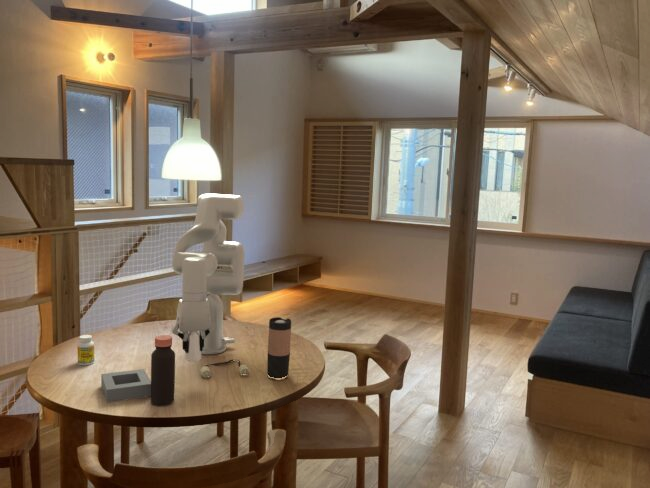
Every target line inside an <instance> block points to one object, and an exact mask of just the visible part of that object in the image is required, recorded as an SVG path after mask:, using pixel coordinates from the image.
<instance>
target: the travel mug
mask: <svg viewBox="0 0 650 488" xmlns="http://www.w3.org/2000/svg"><path fill="white" fill-rule="evenodd" d="M268 322H269V323H268V339H267V340H268V341H267V361H266V362H267V367H266V368H267V372H266V375H267V374H268V375H269V376H270V377H274V378H282V377H285V376H287V375H288V376H289V371H290V370H289V367H290V356H291V339H292V338H291V337H292V335H291V334H292V333H291V332H292V320H291V319H290V318H286V319H284V318H282V317H277V316H276V317H271V318H270V319H269V321H268Z"/></svg>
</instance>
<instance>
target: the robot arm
mask: <svg viewBox="0 0 650 488" xmlns="http://www.w3.org/2000/svg"><path fill="white" fill-rule="evenodd" d="M196 202H197V210H196V214H195V219H194V223H193V227H192V228H190V229H189V230H187V231H186V232H184V233H183V234H182V235H181V236H180V238H179V239H178V240H177V242H176V244H175V248H174V251H173V255H172V260H171V261H172V262H171V265H172V266H171V267H172V269H173V271H174V272H175V273H176V274H179V275H181V276H182V277H181V278H182V279H181V280H182V281H181V285H182V286H181V298H180V299H179V301H178V304H177V311H176V320H175V321H176V322H175V324H174V326H173V328H172V329H171V334H174V335H175V336H177V337H179V338H180V339H181V340H182V342H181V343H182V350H183V351H184V353H185V352H186V353H188V352H189V341H188V339H187V337H188V333H189V332H192V331H198V333H199V335H200V351H201V355H217V354H222V353H223V352H225V351H226V350H227V346H226V345H227V344H229V345H230V344H235V338H233V337H232V338H230V337H224V336H223V328H224V326H223V325H224V303H223V301H222V299H221V298H220V296H219V295H229V296H235V295H239V294H241V293H242V290H243V287H244V276H245V275H244V274H245V273H244V271H245V254H246V253H245V247H244V245H243V244H242V243H241V242H239V241H227V232H228V230H227V227H226V225H225V223H224V221H222V220H234V221H235V220H238V219H239V218H240V217H241V216H242V215H243V214H244V213H243V212H244V207H245V206H244V205H245V204H244V200H243V198H242V196H241V195H237V194H236V195H235V194H222V193H203V194H201V195H199V196H198V198H197V201H196ZM200 244H202V252H200V251H198V252H197V251H188V250H189V249H190V248H192V247H194V246H196V245H200ZM218 266H219V267H230V268H231V269H224V268H223V269H222V268H218Z"/></svg>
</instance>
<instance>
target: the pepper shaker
mask: <svg viewBox="0 0 650 488" xmlns="http://www.w3.org/2000/svg"><path fill="white" fill-rule="evenodd" d="M187 339H188V341H189V352H188V353H186V352H185V351H184V360H185V361H188V362H197V361H200V360H201V359H202V354H201V351H200V335H199V333H198V331H192V332H189V333H188V337H187Z"/></svg>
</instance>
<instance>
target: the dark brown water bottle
mask: <svg viewBox="0 0 650 488" xmlns="http://www.w3.org/2000/svg"><path fill="white" fill-rule="evenodd" d="M172 346H173V336H172V335H168V334H160V335H157V336H155V337H154V347H155V349H154V351H152V353H150V354H151V355H150V361H151V362H150V366H151V367H150V381H151V396H150V403H151V404H152V405H154V406H156V407H163V406H164V407H165V406H170V405H172V403H173V402H175V384H176V383H175V381H176V378H175V377H176V376H175V374H176V373H175V372H176V353H175V350H173V349H172Z"/></svg>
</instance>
